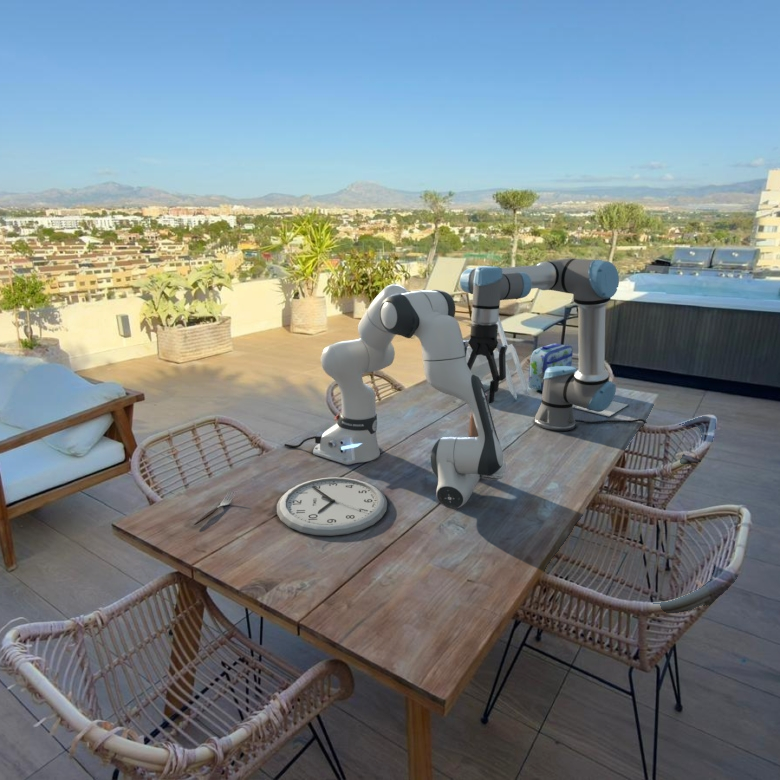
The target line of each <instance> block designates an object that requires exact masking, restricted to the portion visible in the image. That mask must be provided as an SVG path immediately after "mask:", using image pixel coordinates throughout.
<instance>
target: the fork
mask: <svg viewBox="0 0 780 780" xmlns="http://www.w3.org/2000/svg"><path fill="white" fill-rule="evenodd" d="M236 494H237V491H233V492H232V490H230V491H228V492H227V494H226V496H225V497H224V498H223V500H222V501H221V502H220V504H219V505H217V506H216V507H215V508H213V509H211V510H209V511H208V512H207V513H205V514H204V515H203V516H202V517H200V519H198V520H197V521H196V522H195V523H194V524H193V525H194V526H196V525H199V524H200V523H201V522H202V521H204V520H206V519H207V518H209V517H210V516H212V515H213V514H214V513H216V511H218V509H219V508H220V507H226V506H229V505H230V504H231V503H232V501H233V500H234V497H235V496H236Z"/></svg>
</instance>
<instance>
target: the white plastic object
mask: <svg viewBox="0 0 780 780" xmlns="http://www.w3.org/2000/svg"><path fill="white" fill-rule="evenodd" d="M496 324H497V325H498V335H499V338H500V342H501V345H503V346H504V345H507V350H506V353H505V356H506V378H505V380H506V383H507V386H508V390H509V393H510V394H511V395H512V397H513V398H514V399H515V400H517V392H516V391H517V390H516V388H515V385H514V381H513V378H512V375H511V371H510V369H509V365H508V361H510V360H513V363H514V366H515V369H516V372H517V376H518V380H519V382H520V385H521V389H522V391H523V393H524V395H525V396H526V397H528V396H531V395H530V390H529V386H528V384H527V381H526V378H525V375H524V371H523V369H522V368H523V367H522V366H521V362H520V359H519V355H518V352H517V349H516V347H515V346H514V345H513V343H511V344H508V341H507V337H506V334H505V331H504V328H503V325H502V321H501V318H500V317H499V318H498V322H497V323H496ZM471 353H472V348H471V346H470V345H468V347H467V352H466V362H467V363H468V361H469V358H470V355H471ZM493 353H494V359H495V362H496V366H497V368H499V352H498V349H495V350H494V351H493ZM471 372H472V374H473V375H475V376H477V377H479V379H480V380H481V382H482V381H484V378H485V377H486V376H487V375H489V374H491V370H490V367H489V363H488V360H487V358H486V356H483V355H477V357H476V359H475V362H474V364H473V366H472V368H471Z"/></svg>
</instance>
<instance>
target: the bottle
mask: <svg viewBox="0 0 780 780" xmlns="http://www.w3.org/2000/svg"><path fill="white" fill-rule="evenodd" d="M468 426H469V427H468V437H478V432H477V428H476V425H475V421H474V417H473V414H472V410H471V411H470V415H469V425H468Z"/></svg>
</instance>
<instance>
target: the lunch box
mask: <svg viewBox="0 0 780 780" xmlns="http://www.w3.org/2000/svg"><path fill="white" fill-rule="evenodd" d="M573 356H574V355H573V347H572V346H571V345H566V344H560V343H551V344H548V345H544V346H541V347H538V348H536V349H534V350H533V351H532V353H531V355H530V359H529V370H528V371H529V372H528V389H531V390H536V391H541V392H542V391H543V381H544V379H543V378H544V375H545V371H546V369H547V368H549V367H555V366H571V367H572V365H573V363H572V362H573Z"/></svg>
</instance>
